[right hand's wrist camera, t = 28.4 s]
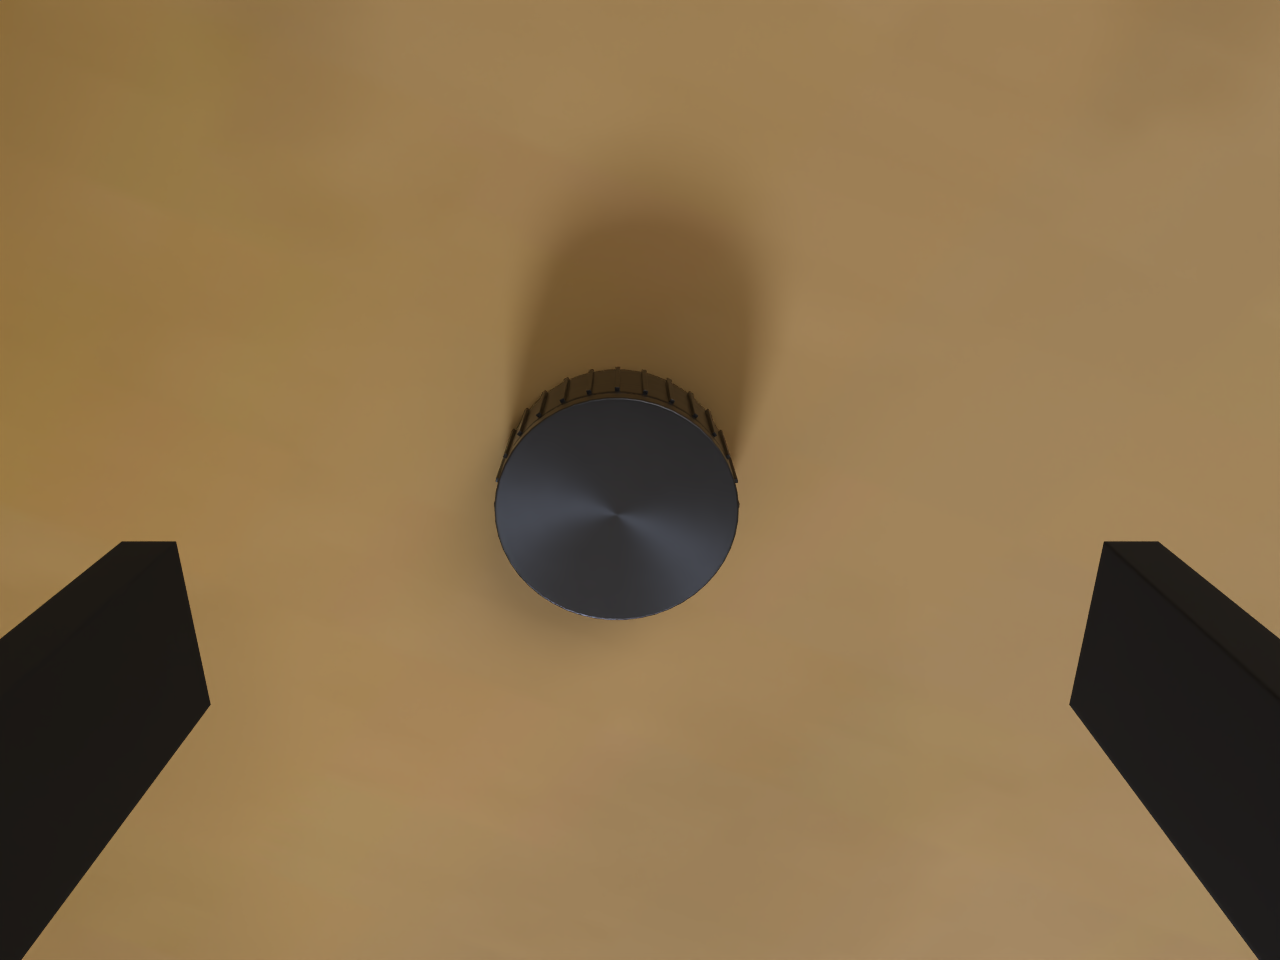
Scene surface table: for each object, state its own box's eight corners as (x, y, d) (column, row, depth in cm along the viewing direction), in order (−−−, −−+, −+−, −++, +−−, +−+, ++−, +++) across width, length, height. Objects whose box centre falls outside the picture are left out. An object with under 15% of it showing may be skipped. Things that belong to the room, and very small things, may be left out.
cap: (756, 538, 18) (770, 582, 16) (552, 600, 19) (544, 650, 17) (691, 334, 17) (699, 360, 15) (469, 408, 17) (452, 441, 15)
